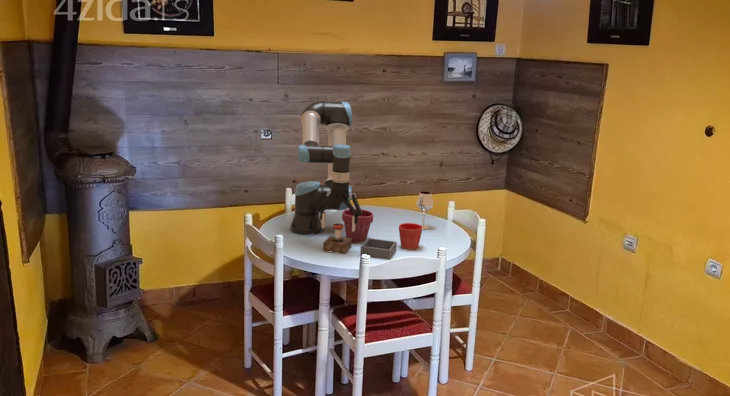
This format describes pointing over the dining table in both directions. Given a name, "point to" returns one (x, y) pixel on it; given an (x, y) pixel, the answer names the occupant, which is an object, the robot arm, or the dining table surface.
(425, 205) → the wineglass
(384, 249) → the tray
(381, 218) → the dining table surface
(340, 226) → the lock pin
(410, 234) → the flower pot
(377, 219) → the dining table surface
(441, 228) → the dining table surface
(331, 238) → the pin block
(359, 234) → the plant pot
